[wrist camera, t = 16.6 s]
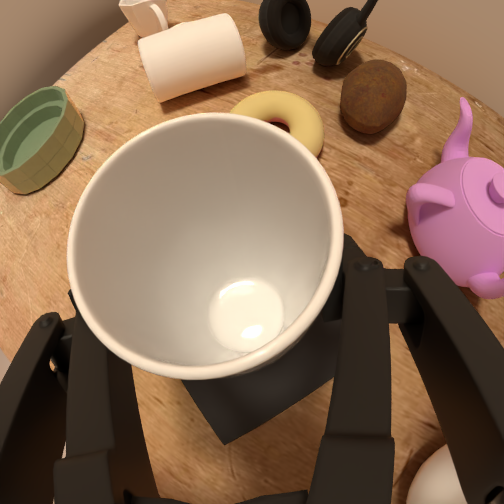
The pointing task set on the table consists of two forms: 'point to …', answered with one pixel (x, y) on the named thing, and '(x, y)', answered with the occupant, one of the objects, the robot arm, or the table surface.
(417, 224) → the teapot
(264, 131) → the drinking glass
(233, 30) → the mug
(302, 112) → the donut
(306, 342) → the mat
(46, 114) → the bowl
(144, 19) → the cup
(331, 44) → the headphones
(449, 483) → the flower vase
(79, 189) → the table surface
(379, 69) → the potato
